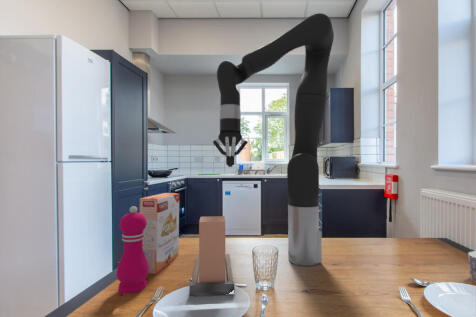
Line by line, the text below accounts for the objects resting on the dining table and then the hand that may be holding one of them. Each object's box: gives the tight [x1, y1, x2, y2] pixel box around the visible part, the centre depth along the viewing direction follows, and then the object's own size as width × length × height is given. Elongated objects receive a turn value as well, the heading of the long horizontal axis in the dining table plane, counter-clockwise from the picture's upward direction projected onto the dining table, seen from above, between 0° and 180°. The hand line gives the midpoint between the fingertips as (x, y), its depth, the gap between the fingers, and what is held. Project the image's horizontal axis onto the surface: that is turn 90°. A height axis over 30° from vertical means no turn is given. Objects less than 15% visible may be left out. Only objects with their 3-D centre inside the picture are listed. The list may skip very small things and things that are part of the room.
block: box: [198, 215, 226, 283], centre depth 62 cm, size 6×6×16 cm
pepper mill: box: [116, 205, 149, 296], centre depth 61 cm, size 7×7×20 cm
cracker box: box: [138, 192, 180, 275], centre depth 75 cm, size 14×6×21 cm, turn 168°
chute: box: [188, 253, 235, 298], centre depth 68 cm, size 10×22×3 cm, turn 5°
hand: (230, 166), depth 92 cm, fingers closed
